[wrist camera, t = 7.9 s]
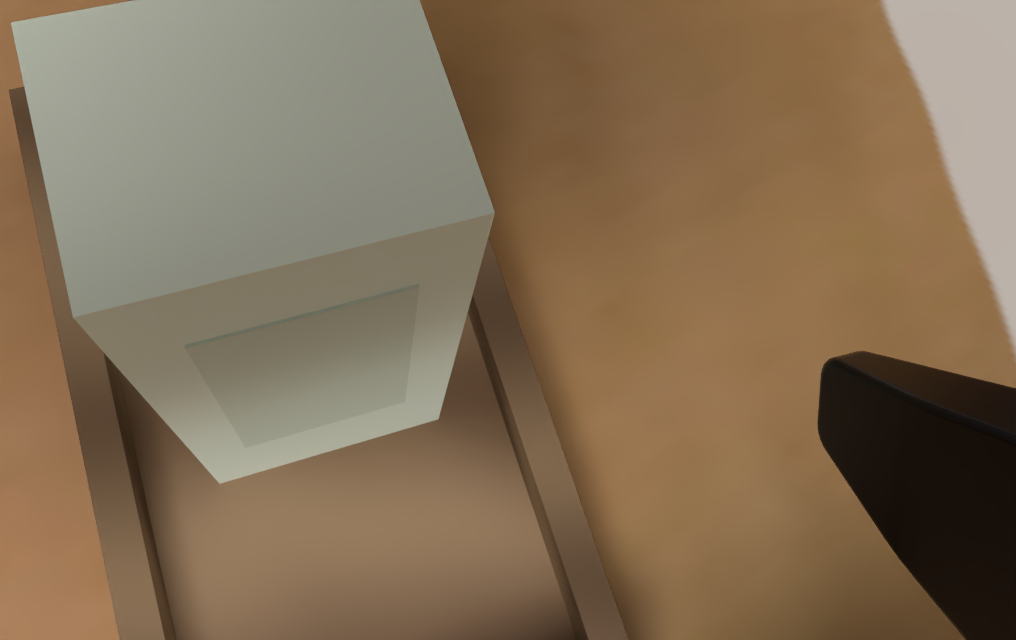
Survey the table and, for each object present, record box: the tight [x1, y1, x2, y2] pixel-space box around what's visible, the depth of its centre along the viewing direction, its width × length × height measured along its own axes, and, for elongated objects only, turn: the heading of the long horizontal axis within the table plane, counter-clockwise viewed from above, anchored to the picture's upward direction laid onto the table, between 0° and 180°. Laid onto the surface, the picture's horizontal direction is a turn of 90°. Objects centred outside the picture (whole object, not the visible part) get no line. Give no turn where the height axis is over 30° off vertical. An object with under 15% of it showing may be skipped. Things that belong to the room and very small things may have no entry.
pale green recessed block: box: [11, 0, 495, 484], centre depth 17 cm, size 4×5×11 cm
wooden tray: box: [9, 87, 629, 640], centre depth 21 cm, size 18×10×3 cm, turn 19°
